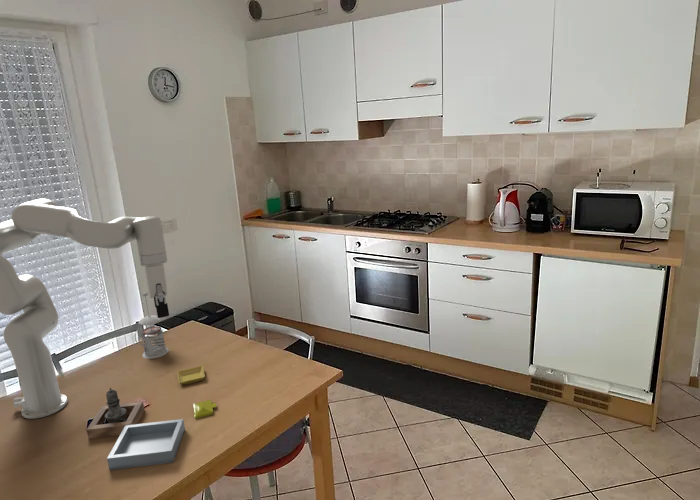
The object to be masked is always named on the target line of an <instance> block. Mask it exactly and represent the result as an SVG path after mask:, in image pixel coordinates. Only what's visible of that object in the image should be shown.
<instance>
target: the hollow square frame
mask: <svg viewBox="0 0 700 500" xmlns="http://www.w3.org/2000/svg"><path fill="white" fill-rule="evenodd" d="M119 404H120V407H121V408H125V409H126V415H125V416H128V417H127V418H126V419H127V421H126V422H118V423H110V424H109V423H104V421H105V419H106V418H105V414H106V413H107V412H108V411H109V408H108V405H107V404H106V405H102V406H101V408H99V410H98V412H97V413H96V415H95V416H94V418H93V419H92V421H91V422H90V424H89V425H88V427H87V428H86V433H87V437H88V439H89V440H91V439H97V438H98V439H99V438H100V439H101V438H105V437H106V438H107V437H115V436H120V434H121V432H122V431H123V429H124V427H125V426H126V425H135V424H139V422H140V419H141V417H142V416H143V414H144V412H145V405H144V401H143V400H142V401H133V402H126V403H119ZM103 423H104V424H103Z"/></svg>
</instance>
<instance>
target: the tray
mask: <svg viewBox="0 0 700 500" xmlns="http://www.w3.org/2000/svg"><path fill="white" fill-rule="evenodd" d="M185 430H186V427H185V421H184V418H179V419H172V420H171V419H170V420H169V419H168V420H163V421H161V420H160V421H155V422H154V421H153V422H145V423H137V424H135V425H126V426H125V427H124V429H123V431H122V432H121V434H120V435H118V436H119V437H118V438H117V439H116V442H114V443H115V444H114V445H113V447H112V449H111V450H110V452H109V454H108V456H107V457H106V461H107V465H108V469H109V470H108V471H113V470H114V471H115V470H123V469H129V468H130V469H131V468H138V467H145V466H156V465H161V464H169V463H170V464H171V463H174V462H175V460H176V456H177V453H178V451H179V447H180V445H181V442H182V440H183V436H184V434H185Z"/></svg>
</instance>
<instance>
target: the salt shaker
mask: <svg viewBox="0 0 700 500" xmlns="http://www.w3.org/2000/svg"><path fill="white" fill-rule="evenodd" d="M108 389H109V390H108V391H107V392H106V394H105V396H106V405H108V408H109V411H108V412H107V413H106V414H105V418H106V419H107V420H106V421H107V422H108V424H110V423H118V422H126V421H127V419H128V418H126V416H127V415H126V409H125V408H121V407H120V404H121V403H120V402H121V399H120V398H119V397H118V393H117V392H118V391H117V390H115V389H112V387H109V388H108Z"/></svg>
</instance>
